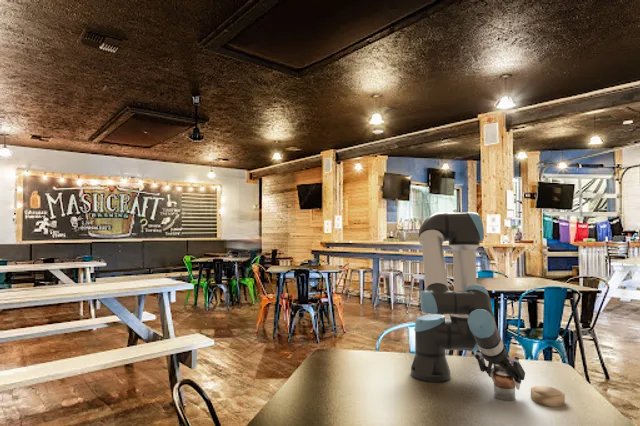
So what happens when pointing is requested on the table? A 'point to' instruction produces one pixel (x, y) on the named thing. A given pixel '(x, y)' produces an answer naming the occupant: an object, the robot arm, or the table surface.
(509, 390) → the can
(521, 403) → the table surface
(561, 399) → the stand
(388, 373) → the table surface
